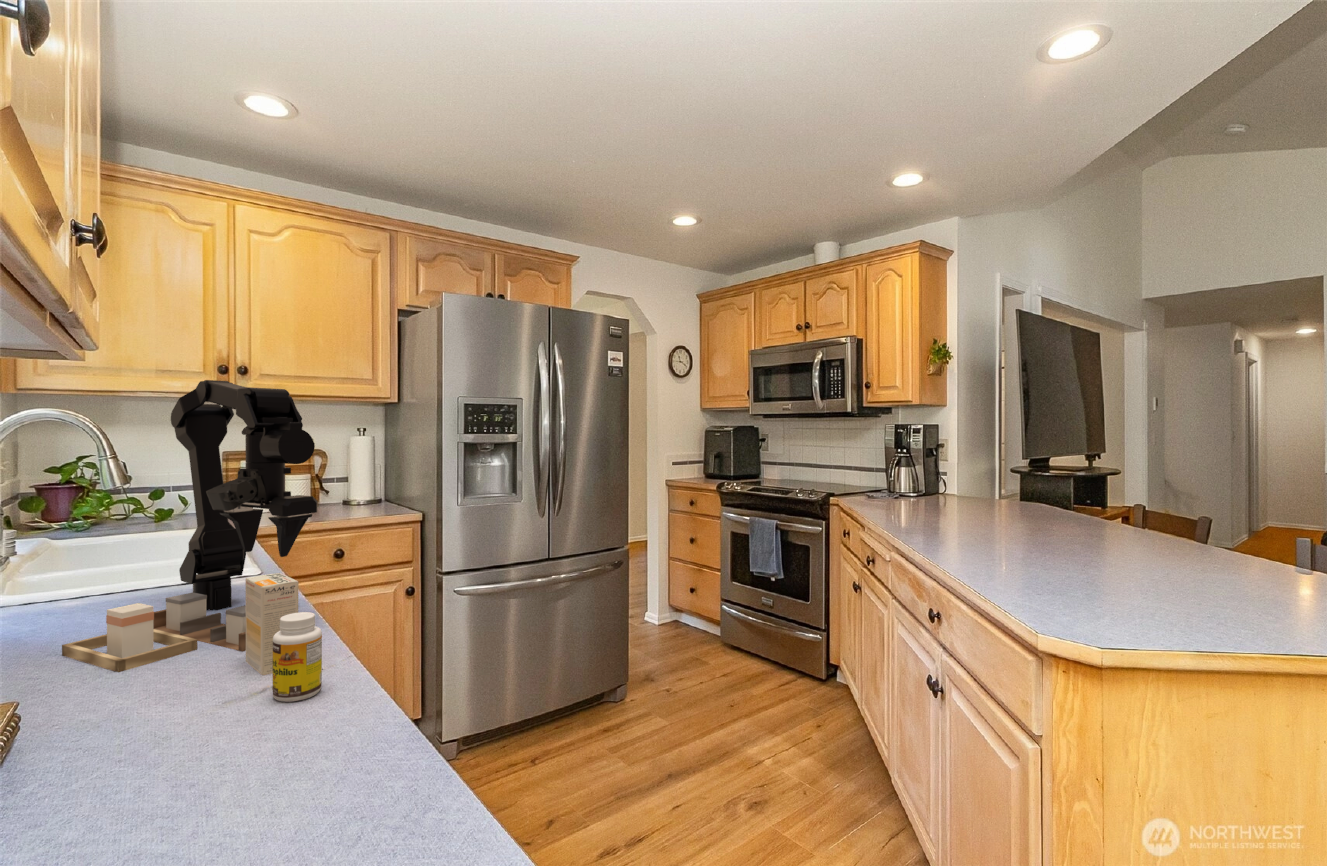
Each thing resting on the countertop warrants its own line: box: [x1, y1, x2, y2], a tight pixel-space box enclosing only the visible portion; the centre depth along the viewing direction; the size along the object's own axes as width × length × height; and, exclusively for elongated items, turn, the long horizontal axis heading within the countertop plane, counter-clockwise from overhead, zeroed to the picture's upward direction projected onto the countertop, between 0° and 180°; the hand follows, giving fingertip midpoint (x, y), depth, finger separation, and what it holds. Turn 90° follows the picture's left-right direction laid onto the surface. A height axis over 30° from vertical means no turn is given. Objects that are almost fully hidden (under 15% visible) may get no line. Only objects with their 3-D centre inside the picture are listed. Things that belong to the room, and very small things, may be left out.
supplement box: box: [245, 572, 299, 676], centre depth 92 cm, size 8×5×13 cm, turn 47°
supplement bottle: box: [271, 611, 323, 703], centre depth 84 cm, size 6×6×10 cm
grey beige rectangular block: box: [165, 591, 207, 631], centre depth 108 cm, size 4×4×5 cm
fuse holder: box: [153, 608, 246, 653], centre depth 105 cm, size 25×7×4 cm, turn 65°
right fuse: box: [225, 604, 246, 645], centre depth 101 cm, size 4×4×5 cm
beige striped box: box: [105, 602, 155, 658], centre depth 96 cm, size 4×4×7 cm
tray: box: [61, 629, 198, 673], centre depth 96 cm, size 15×10×2 cm, turn 65°
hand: (265, 554), depth 109 cm, fingers open, 9 cm apart
